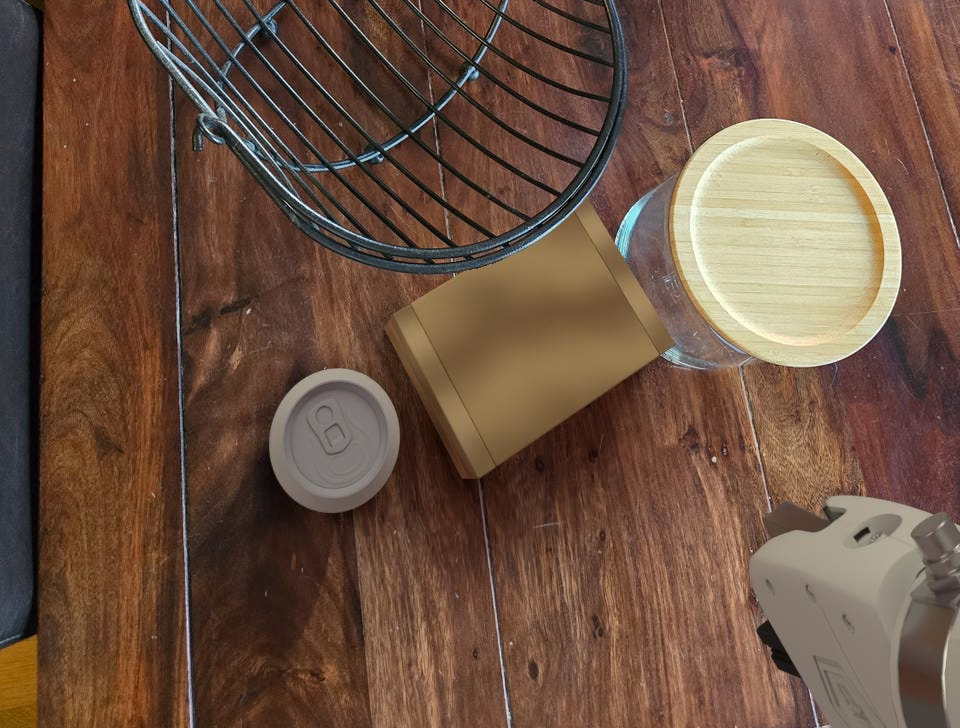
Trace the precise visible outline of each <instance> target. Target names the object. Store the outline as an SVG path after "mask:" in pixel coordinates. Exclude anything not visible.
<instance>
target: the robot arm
mask: <svg viewBox="0 0 960 728" xmlns="http://www.w3.org/2000/svg"><path fill="white" fill-rule="evenodd" d="M822 503H823V508H822V509H821V512H822V514H823V516H824V517H825V518H823V517H821V516H820V515H817V514H816V513H813V512H811V511H809V510H808V509H805V508H804V507H801V506H799V505H797V504H795V503H794V502H791V501H790V500H784V501H783V502H782V503H780V504H779V505H778V506H777V507H775V508H773V509H772V511H770V512H769V513H768V514H766V515H764V516H763V517H762V524H763V526H764V528H765V530H766V532H767V533H768V536H769V538H770V539H768V541H766V542H765V543H764V544H762V545H761V547H760V548H759V549H758V550H757V551H756V552H755V553H754V554H753V555H752V556H751V557H750V558H749V563H748V575H749V582H750V584H751V587H752V590H753V592H754V595H755V597H756V599H757V600H758V603H759V605H760V608H761V609H762V611H763V612H764V614H765V616H766V618H767V619H766V620H765V621H764V622H762V623H761V624H760V625H759V626H758V627H757V629H756V630H755V632H756V634H757V635H758V637H759V639H760V641H761V642H762V644H763V645H765V646H768V648H770V652H771V655H770V658H771V660H772V662H773V663H774V665H775V667H776V668H777V670H779V671H781V672H783V673H785V674H789V675H791V676H793V677H796V678H798V679H800V680H801V679H802V681H803V683H804V684H805V686H806V688H807V689H808V691H809V693H810V694H811V696H812V698H813V700H814V701H815V703H816V705H817V706H818V708H819V710H820V712H821V714H822V715H823V717H824V718H825V720H826V722H827V723H828V725H829V727H830V728H960V525H959V524H957V523H955V522H954V521H953V520H952V518H951V517H950V515H949V513H948V512H946V511H941V512H937V513H934V514H933V513H931V512H928V511H926V510H922V509H920V508H916V507H914V506H910V505H907V504H903V503H899V502H896V501H892V500H887V499H881V498H876V497H868V496H862V495H861V496H859V495H847V494H844V495H831V496H828V497H826V498H824V499H823V501H822Z"/></svg>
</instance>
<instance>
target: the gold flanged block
mask: <svg viewBox="0 0 960 728" xmlns="http://www.w3.org/2000/svg"><path fill="white" fill-rule="evenodd" d="M585 198H586V197H585ZM466 270H467V269H466ZM383 328H384V331H385V333H386V335H387V337H388V339H389V340H390V342H391V345H392V347H393V348H394V350H395V353H396V354H397V357H398V358H399V360H400V362H401V365H402V366H403V368H404V370H405V372H406V373H407V375H408V377H409V380H410V381H411V383H412V385H413V387H414V389H415V391H416V393H417V395H418V397H419V399H420V400H421V402H422V403H421V404H423V406H424V408H425V411H426V412H427V414H428V416H429V418H430V420H431V422H432V424H433V426H434V429H435V430H436V431H437V434H438V435H439V438H440V439H441V442H442V443H443V445H444V447H445V449H446V451H447V453H448V455H449V456H450V458H451V461H452V463H453V464H454V467H455V468H456V470H457V472H458V475H459V476H460V478H461V479H464V480H465V479H467V480H468V479H473V480H474V479H475V480H477V479H478V480H479V479H481V478H482V477H484V476H486V475H487V474H489V473H490V472H492V471H493V470H494V469H495V468H496V467H499V466H500V465H502V464H504V463H505V462H506V461H507V460H509V459H510V458H512V457H514V456H515V455H516V454H518V453H520V452H521V451H522V450H524V449H525V448H526V447H529V445H531V444H532V443H534V442H536V441H537V440H539V439H540V438H542V437H543V436H544V435H546V434H547V433H548V432H550V431H552V430H553V429H555V428H556V427H558V426H559V425H560V424H562V423H564V422H565V421H566V420H568V419H569V418H570V417H572V416H574V415H575V414H576V413H578V412H579V411H582V410H583V409H584V408H585V407H587V406H588V405H590V404H591V403H593V402H594V401H596V400H597V399H598V398H600V397H601V396H603V395H604V394H607V392H608V391H611V390H612V389H613V388H614V387H617V385H619V384H620V383H622V382H623V381H625V380H626V379H628V378H630V377H631V376H632V375H634V374H636V373H637V372H638V371H640V370H641V369H643V368H644V367H645V366H647V365H648V364H649V363H651V362H653V361H654V360H656V359H657V358H658V357H660V356H661V355H663V354H664V353H666V352H667V351H669V350H670V349H672V348H673V347H675V346H676V342H675V340H674V339H673V336H672V335H671V333H670V332H669V330H668V329H667V327H666V326H665V324H664V322H663V320H662V318H661V317H660V315H659V314H658V312H657V311H656V309H655V308H654V305H653V304H652V302H651V301H650V299H649V297H648V295H647V294H646V292H645V291H644V289H643V288H642V286H641V284H640V282H639V281H638V279H637V278H636V276H635V274H634V272H633V271H632V269H631V268H630V265H629V264H628V263H627V261H626V259H625V257H624V256H623V254H622V253H621V251H620V249H619V248H618V246H617V245H616V243H615V241H614V240H613V238H612V236H611V234H610V233H609V231H608V230H607V228H606V226H605V225H604V223H603V222H602V220H601V218H600V216H599V215H598V213H597V212H596V210H595V208H594V207H593V205H592V203H591V201H590V200H589V198H588V197H587V198H586V199H585V200H584V202H583V203H582V204H581V205H580V206H579V207H578V208H577V209H576V210H575V211H574V212H573V213H572V215H571V216H569V217H568V218H567V219H566V220H565V221H564V222H563V223H562V224H560V225H559V226H558V227H556V228H555V229H554V230H553V231H551V232H550V233H549V234H547V235H546V236H544V237H543V238H541V239H540V240H538V241H537V242H536V243H534V244H533V245H531V246H529V247H528V248H526V249H524V250H522V251H520V252H518V253H515V254H513V255H511V256H509V257H507V258H505V259H503V260H501V261H499V262H496V263H494V264H489V265H487V266H484V267H481V268H478V269H472V270H467V271H465V270H463V271H462V272H460V273H458V274H456V275H455V276H453V277H452V278H449V280H447V281H445V282H443V283H442V284H440V285H439V286H437V287H435V288H433V289H432V290H430V291H429V292H426V293H425V294H424V295H422V296H420V297H419V298H416V299H415V300H413V301H412V302H411V303H410V304H407V305H405V306H404V307H402V308H401V309H398V310H396V312H393V314H392V315H391V316H390V318H389V320H388V322H387V323H386V324H385V326H384V327H383Z"/></svg>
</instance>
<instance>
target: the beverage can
mask: <svg viewBox="0 0 960 728" xmlns="http://www.w3.org/2000/svg"><path fill="white" fill-rule="evenodd" d="M399 422H400V421H399V417H398V414H397V411H396V409H395V406H394V404H393V402H392V400H391V399H390V397H389V395H388V393H387V392H386V391H385V390H384V388H382V386H380V384H379V383H377V382H376V381H375V379H373V378H371V377H370V376H368V375H366V374H364V373H362V372H360V371H357V370H353V369H349V368H339V367H338V368H328V369H327V368H326V369H322V370H319V371H316V372H314V373H312V374H310V375H308V376H306V377H305V378H304V377H303V378H302V379H301V380H300V381H299V382H298V383H296V384H295V385H293V387H292V388H291V389H290V390H289V391H288V392H287V393H286V395H285V396H284V397H283V399H282V400H281V402H280V404H279V405H278V407H277V409H276V411H275V413H274V416H273V418H272V422H271V426H270V431H269V439H268V441H269V442H268V443H269V444H268V449H269V459H270V463H271V467H272V471H273V473H274V475H275V477H276V480H277V481H278V483H279V485H280V486H281V488H282V489H283V490H284V492H285V493H286V494H287V495H288V496H289V497H290V498H291V499H292V500H294V501H295V502H296V503H298V504H299V505H300V506H303V507H305V508H307V509H309V510H311V511H314V512H319V513H325V514H335V513H343V512H348V511H350V510H354V509H356V508H358V507H360V506H362V505H363V504H365V503H367V502H368V501H370V500H371V499H372V498H373V497H375V496H376V495H377V493H379V491H381V489H382V488H383V487H384V485H385V484H386V483H387V481H388V480H389V478H390V476H391V474H392V472H393V470H394V468H395V464H396V463H397V460H398V456H399V451H400V443H401V442H400V441H401V430H400V423H399Z"/></svg>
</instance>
